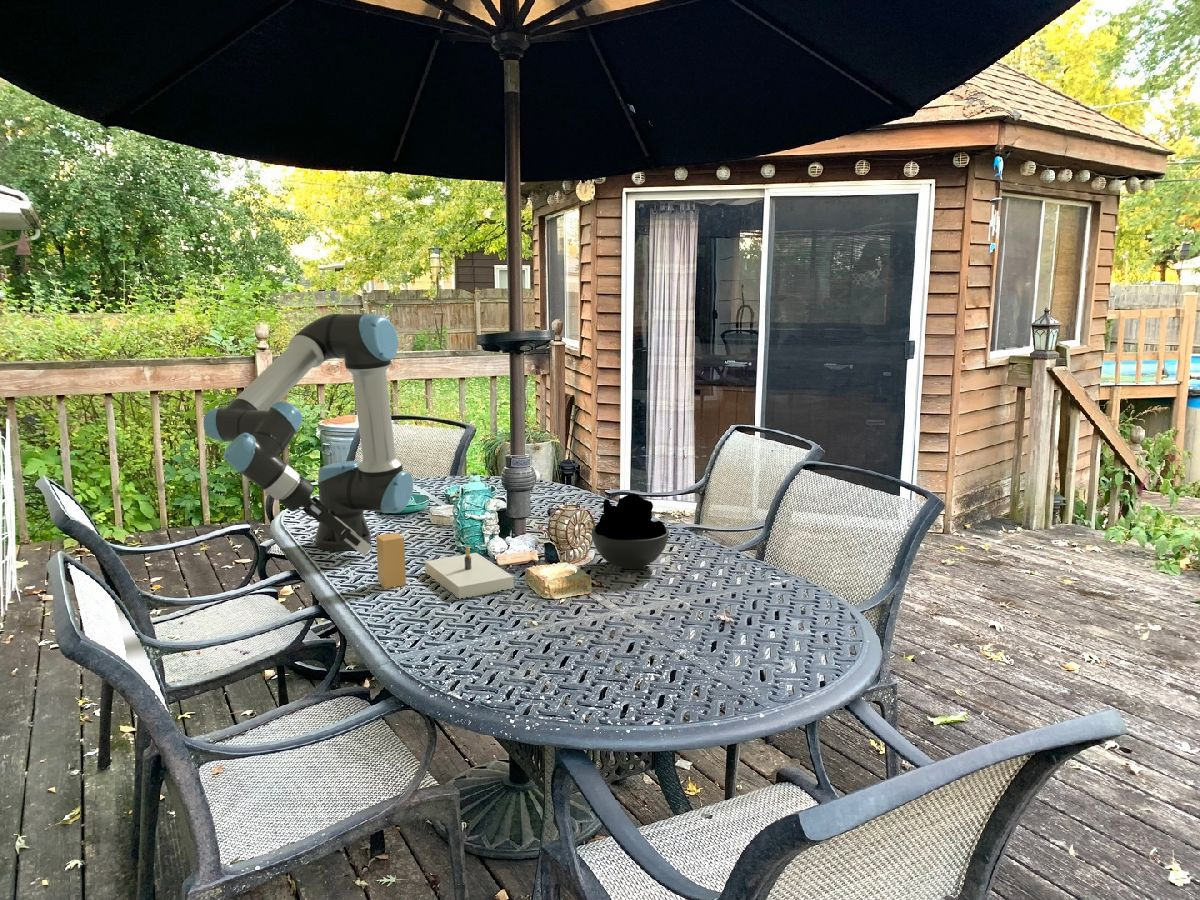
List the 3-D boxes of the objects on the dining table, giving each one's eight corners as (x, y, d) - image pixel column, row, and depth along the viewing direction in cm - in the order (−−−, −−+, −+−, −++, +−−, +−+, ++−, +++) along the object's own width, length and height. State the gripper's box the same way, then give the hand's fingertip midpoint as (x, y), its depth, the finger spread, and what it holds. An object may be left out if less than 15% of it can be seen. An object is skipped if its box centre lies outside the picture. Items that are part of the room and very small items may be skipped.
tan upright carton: (378, 582, 202) (376, 535, 199) (398, 579, 204) (397, 532, 202) (384, 589, 197) (382, 540, 195) (405, 585, 200) (404, 537, 198)
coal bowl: (668, 556, 224) (670, 489, 220) (667, 581, 204) (669, 507, 201) (595, 554, 225) (595, 487, 222) (587, 578, 206) (587, 505, 202)
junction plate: (425, 572, 209) (424, 540, 208) (476, 563, 217) (475, 532, 215) (459, 599, 191) (458, 564, 189) (513, 588, 198) (513, 554, 197)
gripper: (267, 490, 193) (335, 542, 204) (289, 513, 172) (363, 570, 183) (289, 465, 195) (355, 519, 205) (314, 486, 174) (386, 544, 185)
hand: (359, 543), depth 194 cm, fingers open, 13 cm apart
